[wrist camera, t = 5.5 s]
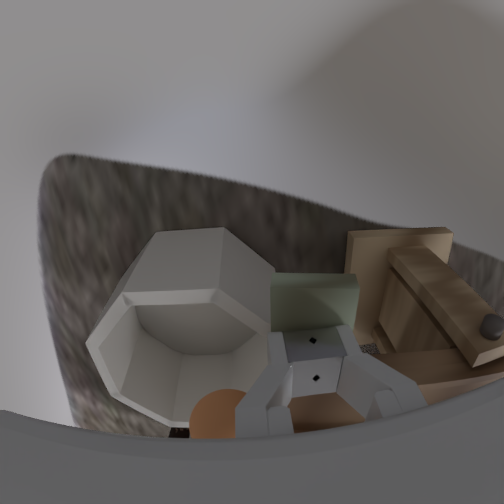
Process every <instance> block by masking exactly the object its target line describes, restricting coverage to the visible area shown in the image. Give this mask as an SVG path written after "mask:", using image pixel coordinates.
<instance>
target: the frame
mask: <svg viewBox="0 0 504 504" xmlns="http://www.w3.org/2000/svg"><path fill="white" fill-rule="evenodd" d="M453 235H454V233H453V232H451V231H450V230H449V229H447V228H446V227H431V228H430V227H429V228H404V229H380V230H357V231H348V236H347V248H346V259H345V269H344V274H356V277H357V280H358V284H359V287H360V292H359V299H358V305H357V311H356V317H355V323H354V328H353V334H354V336H355V338H356V340H357V342H358V344H359V345H366V344H372V343H375V344H376V346H377V348H378V350H379V352H380V354H387V353H406V352H420V351H433V350H444V349H454V348H459V350H460V351H461V352H462V354H463V355H464V357H465V358H466V359H467V361H468V362H469V364H470V365H471V367H472V368H473V367H476V366H479V365H481V364H484V363H487V362H490V361H492V360H495V359H498V358H500V357H503V356H504V320H503V319H502V318H501V317H500V316H499V315H498V314H497V313H496V312H495V311H494V310H493V309H492V308H491V307H490V306H489V305H488V304H487V303H486V302H485V301H484V300H483V299H482V298H481V297H480V296H479V295H478V294H477V293H476V292H475V291H474V290H473V289H472V288H471V287H470V286H469V285H468V284H467V283H466V282H465V281H464V280H463V279H462V278H461V277H460V276H459V275H458V274H456V273H455V272H454V271H453V270H452V269H451V268H450V267H449V266H448V265H447V263H448V259H449V254H450V250H451V245H452V240H453Z"/></svg>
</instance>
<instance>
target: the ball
mask: <svg viewBox="0 0 504 504" xmlns="http://www.w3.org/2000/svg"><path fill="white" fill-rule="evenodd" d="M245 395H246V392H243V391H240V390H236V389H221V390H217V391H214V392H211V393H209V394H207V395H206V396H204V397H203V398H202V399H201V400H200V401H199V402H198V403H197V404H196V405H195V407H194V409H193V410H192V413H191V416H190V420H189V431H190V435H191V438H192V439H219V438H235V408H236V406H237V405H238V404H239V403H240V401H241V400H242V399H243V397H244V396H245Z"/></svg>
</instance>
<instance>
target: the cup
mask: <svg viewBox="0 0 504 504" xmlns="http://www.w3.org/2000/svg"><path fill="white" fill-rule="evenodd" d="M272 273H276V271H275V268H274V267H273V266H272V265H270V264H269V263H268V262H267V261H265V260H264V259H263V258H262V257H260V256H259V255H258V254H257V253H256V252H254V251H253V250H252V249H251V248H249V247H248V246H247V245H246V244H244V243H243V242H242V241H241V240H239V239H238V238H237V237H236V236H235V235H233V234H232V233H231V232H230V231H228V230H227V229H226V228H225V227H219V228H203V229H189V230H175V231H162V232H156V233H155V234H154V235H153V236H152V238H151V239H150V240H149V242H148V243H147V244H146V245H145V247H144V248H143V249H142V251H141V252H140V253H139V255H138V256H137V257H136V259H135V260H134V261H133V263H132V264H131V265H130V267H129V268H128V269H127V271H126V272H125V273H124V275H123V276H122V278H121V279H120V281H119V283H118V285H117V286H116V288H115V290H114V291H113V293H112V295H111V297H110V298H109V300H108V302H107V304H106V306H105V307H104V309H103V311H102V313H101V315H100V316H99V318H98V320H97V322H96V324H95V326H94V327H93V329H92V331H91V333H90V335H89V337H88V339H87V341H86V343H85V344H86V346H87V348H88V350H89V353H90V355H91V357H92V359H93V361H94V363H95V366H96V368H97V370H98V372H99V374H100V376H101V378H102V380H103V382H104V384H105V386H106V388H107V390H108V391H109V393H110V395H111V396H112V397H113V398H115V399H117V400H119V401H120V402H122V403H124V404H126V405H128V406H129V407H131V408H133V409H135V410H137V411H139V412H141V413H143V414H145V415H146V416H148V417H150V418H152V419H154V420H156V421H158V422H161V423H163V424H165V425H167V426H169V427H183V428H189V420H190V416H191V413H192V410H193V409H194V407H195V405H196V404H197V403H198V402H199V401H200V400H201V399H202V398H203V397H204V396H206V395H207V394H209V393H211V392H214V391H217V390H221V389H236V390H240V391H243V392H246V393H247V392H248V391H249V389H250V388H251V387H252V385H253V384H254V383H255V381H256V380H257V379H258V377H259V376H260V374H261V373H262V372H263V370H264V369H265V368H266V366H267V365H268V357H267V332H271V310H270V285H271V278H272Z"/></svg>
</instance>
